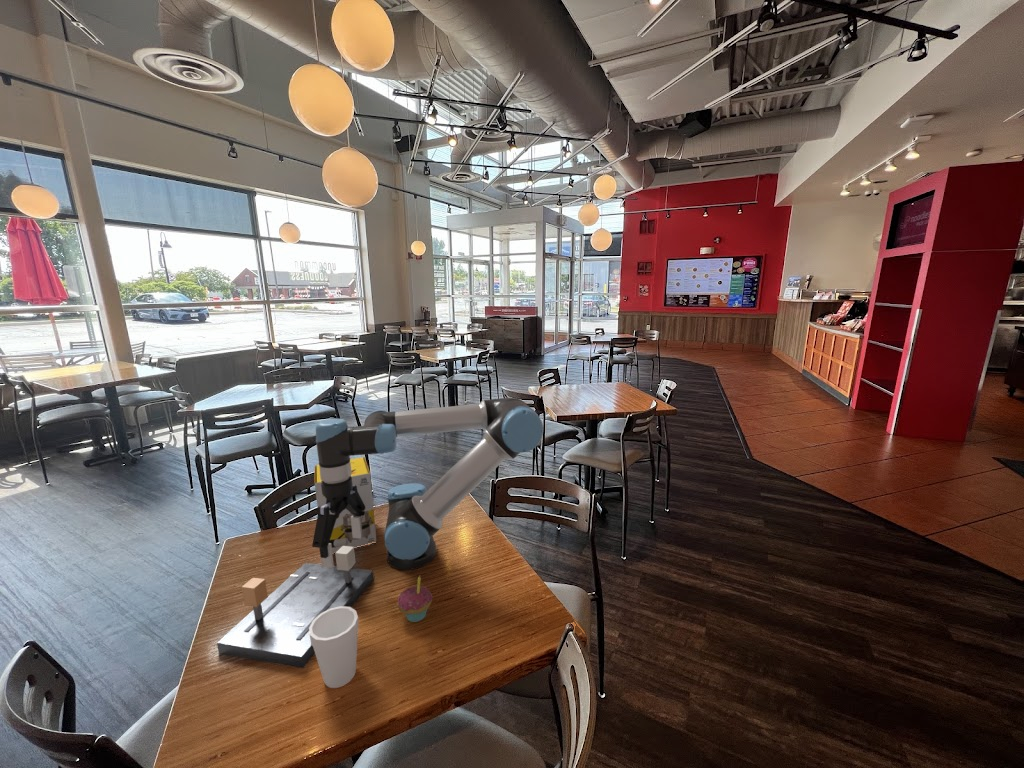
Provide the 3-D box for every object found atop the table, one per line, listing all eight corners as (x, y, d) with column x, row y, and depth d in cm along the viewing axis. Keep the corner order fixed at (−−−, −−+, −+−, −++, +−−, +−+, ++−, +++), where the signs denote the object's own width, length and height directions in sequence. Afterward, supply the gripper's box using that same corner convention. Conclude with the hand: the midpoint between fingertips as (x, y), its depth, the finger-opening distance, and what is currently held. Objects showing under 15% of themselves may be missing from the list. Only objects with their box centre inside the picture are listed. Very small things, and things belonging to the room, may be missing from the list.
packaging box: (323, 556, 131) (314, 483, 126) (322, 532, 146) (314, 465, 141) (376, 543, 138) (370, 473, 133) (370, 520, 152) (364, 456, 148)
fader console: (374, 579, 120) (373, 569, 119) (304, 668, 91) (302, 656, 90) (306, 571, 124) (304, 562, 123) (218, 653, 95) (216, 641, 94)
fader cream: (357, 578, 115) (353, 546, 113) (350, 586, 112) (346, 554, 110) (346, 577, 116) (342, 545, 114) (339, 585, 113) (335, 552, 111)
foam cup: (325, 658, 93) (319, 607, 91) (367, 654, 94) (362, 604, 91) (309, 697, 84) (301, 642, 81) (355, 693, 85) (349, 638, 82)
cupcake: (439, 607, 108) (436, 566, 106) (421, 631, 100) (418, 588, 98) (410, 600, 111) (407, 560, 109) (391, 623, 103) (388, 580, 101)
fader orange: (270, 613, 103) (265, 579, 101) (259, 624, 99) (253, 588, 97) (258, 612, 103) (253, 577, 101) (247, 622, 100) (241, 586, 98)
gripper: (350, 459, 121) (356, 526, 125) (289, 498, 97) (299, 579, 101) (374, 461, 119) (379, 528, 123) (318, 501, 95) (327, 582, 99)
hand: (343, 551), depth 112 cm, fingers open, 13 cm apart
